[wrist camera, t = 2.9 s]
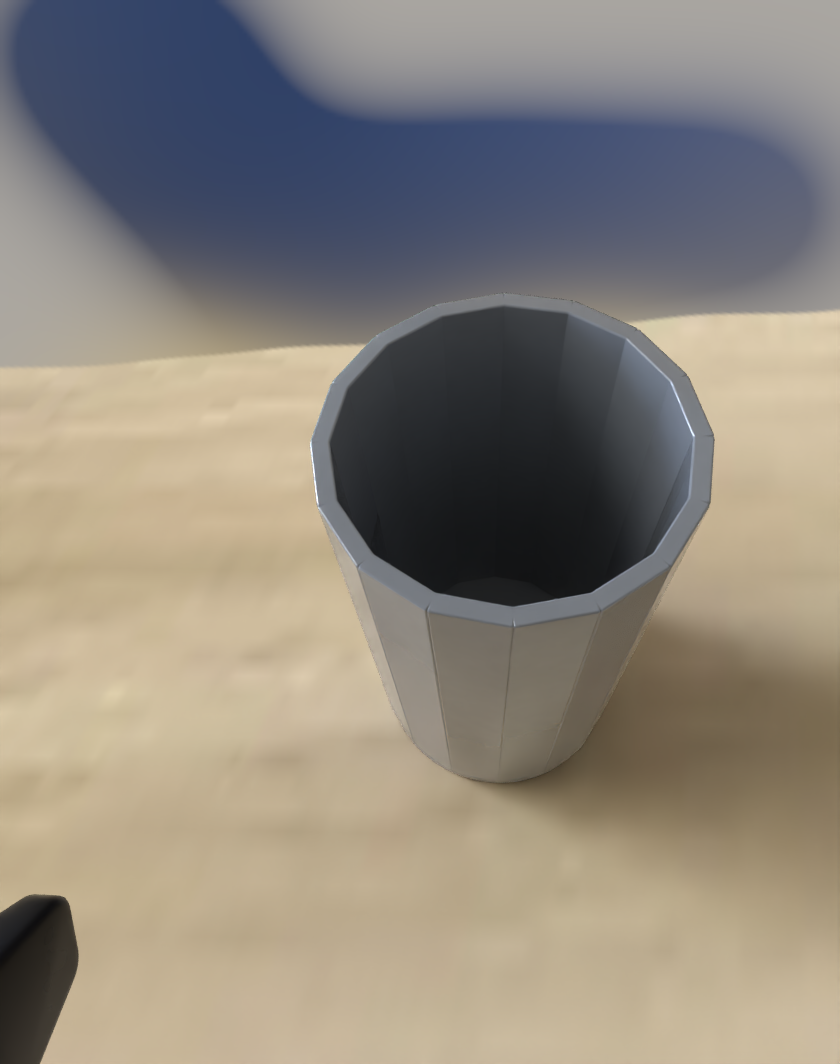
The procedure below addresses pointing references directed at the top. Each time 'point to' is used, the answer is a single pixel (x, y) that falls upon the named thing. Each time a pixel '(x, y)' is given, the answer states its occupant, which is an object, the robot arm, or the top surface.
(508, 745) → the tumbler
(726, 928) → the top surface
